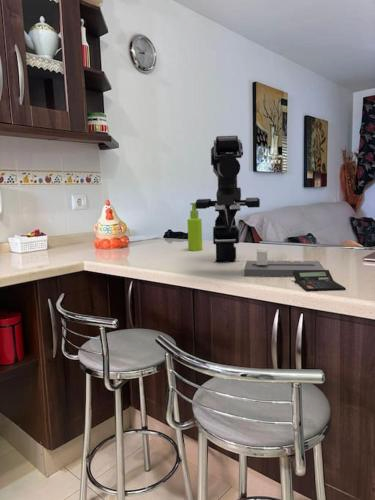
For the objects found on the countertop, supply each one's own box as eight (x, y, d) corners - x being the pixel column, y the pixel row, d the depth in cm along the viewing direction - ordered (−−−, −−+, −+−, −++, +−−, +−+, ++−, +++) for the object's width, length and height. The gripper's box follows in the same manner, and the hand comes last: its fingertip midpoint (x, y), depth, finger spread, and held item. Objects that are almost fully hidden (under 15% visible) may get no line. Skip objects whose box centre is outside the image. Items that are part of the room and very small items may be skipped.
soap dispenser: (203, 251, 159) (202, 202, 156) (187, 251, 160) (185, 203, 157) (205, 249, 165) (204, 202, 162) (189, 249, 166) (188, 202, 163)
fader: (256, 265, 112) (256, 251, 112) (257, 261, 118) (257, 248, 117) (267, 265, 112) (267, 251, 111) (267, 261, 117) (267, 248, 117)
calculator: (306, 292, 91) (306, 280, 91) (292, 281, 103) (292, 270, 102) (345, 291, 91) (345, 279, 91) (327, 280, 103) (327, 269, 102)
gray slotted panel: (244, 276, 109) (243, 268, 109) (246, 266, 123) (246, 260, 123) (324, 277, 105) (325, 269, 104) (318, 267, 118) (318, 260, 118)
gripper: (191, 180, 107) (192, 235, 110) (258, 177, 103) (259, 234, 106) (198, 181, 118) (199, 231, 120) (259, 178, 114) (259, 230, 116)
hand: (228, 232), depth 115 cm, fingers closed
